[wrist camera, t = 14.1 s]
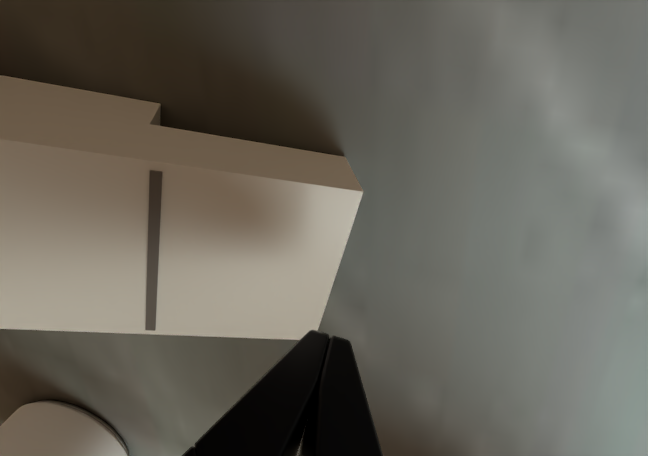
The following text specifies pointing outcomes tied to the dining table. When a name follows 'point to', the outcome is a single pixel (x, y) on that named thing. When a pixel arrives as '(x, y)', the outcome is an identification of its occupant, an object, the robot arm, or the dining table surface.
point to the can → (58, 432)
